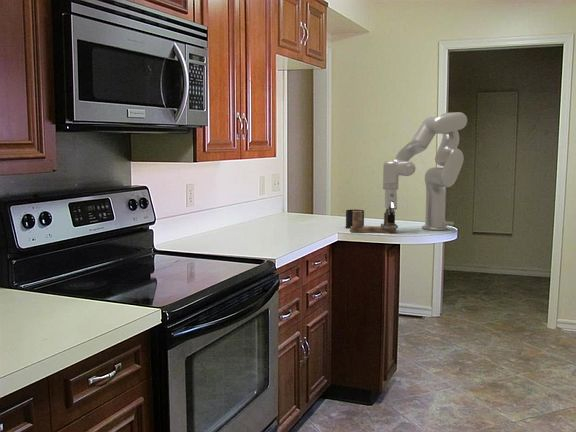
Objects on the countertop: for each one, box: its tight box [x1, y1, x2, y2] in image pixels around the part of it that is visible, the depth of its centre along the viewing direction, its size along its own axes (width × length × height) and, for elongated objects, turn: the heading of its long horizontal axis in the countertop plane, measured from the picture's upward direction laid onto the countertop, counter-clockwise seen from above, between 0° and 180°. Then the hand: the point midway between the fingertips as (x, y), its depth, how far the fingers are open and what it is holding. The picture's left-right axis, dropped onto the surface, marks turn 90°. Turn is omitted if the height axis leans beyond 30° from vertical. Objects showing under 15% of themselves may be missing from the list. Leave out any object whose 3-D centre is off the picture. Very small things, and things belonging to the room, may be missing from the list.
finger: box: [383, 210, 396, 226], centre depth 310 cm, size 5×4×8 cm
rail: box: [349, 211, 399, 234], centre depth 310 cm, size 23×7×10 cm, turn 89°
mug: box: [345, 208, 365, 229], centre depth 325 cm, size 9×12×9 cm
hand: (389, 221), depth 310 cm, fingers open, 7 cm apart
